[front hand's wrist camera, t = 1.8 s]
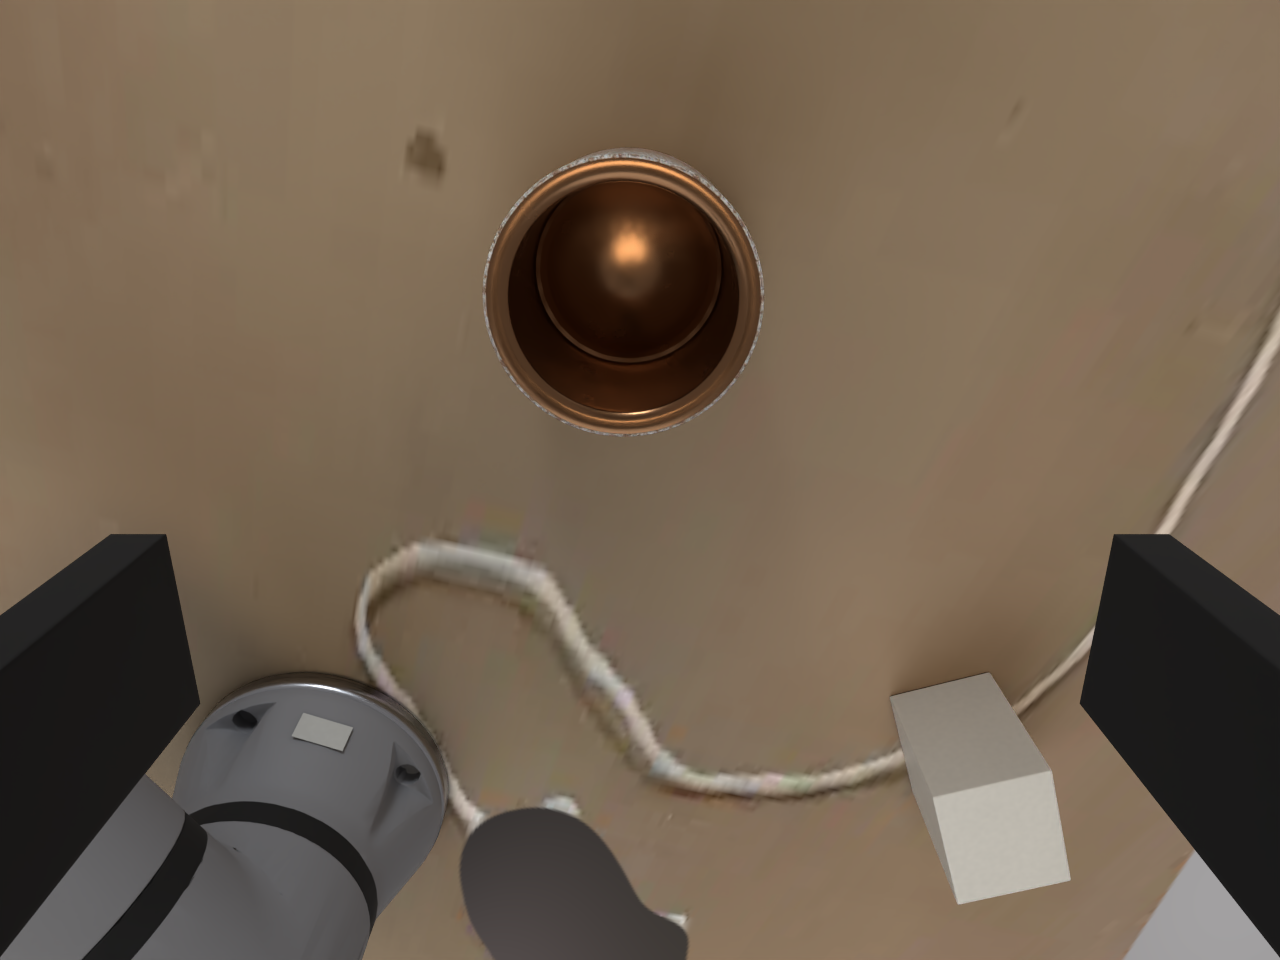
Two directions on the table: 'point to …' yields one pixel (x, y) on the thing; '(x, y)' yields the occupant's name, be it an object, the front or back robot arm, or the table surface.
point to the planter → (623, 293)
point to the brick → (981, 789)
